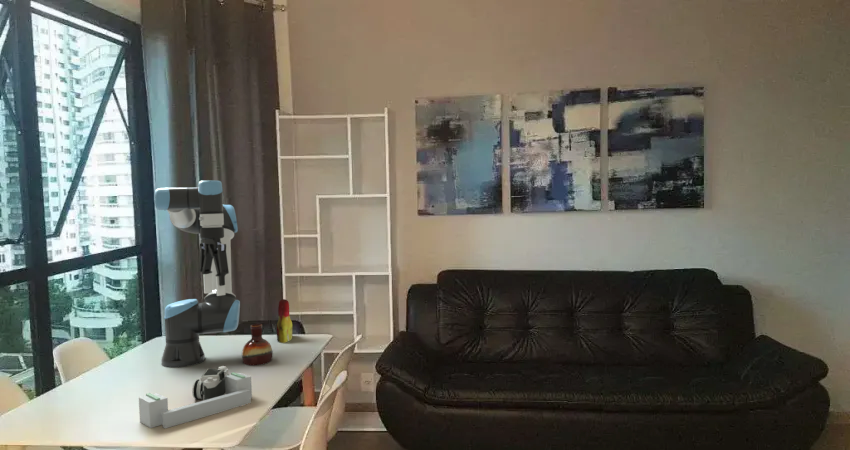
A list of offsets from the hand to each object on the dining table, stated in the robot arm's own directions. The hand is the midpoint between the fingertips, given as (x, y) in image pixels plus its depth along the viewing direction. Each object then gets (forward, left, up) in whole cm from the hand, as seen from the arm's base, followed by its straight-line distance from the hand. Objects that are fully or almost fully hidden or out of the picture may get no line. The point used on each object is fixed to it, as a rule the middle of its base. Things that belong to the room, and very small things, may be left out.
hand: (214, 294), depth 203 cm
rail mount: (+21, -17, -30) cm, 41 cm away
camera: (+13, -9, -31) cm, 35 cm away
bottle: (-26, +44, -30) cm, 59 cm away
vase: (-8, +20, -30) cm, 37 cm away
